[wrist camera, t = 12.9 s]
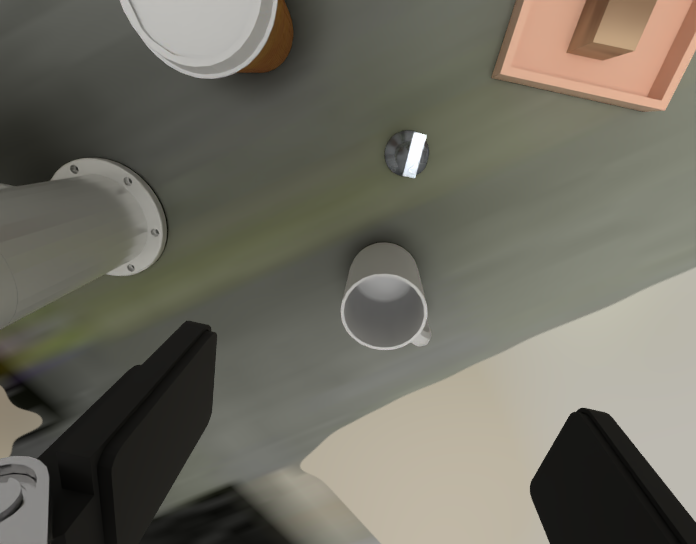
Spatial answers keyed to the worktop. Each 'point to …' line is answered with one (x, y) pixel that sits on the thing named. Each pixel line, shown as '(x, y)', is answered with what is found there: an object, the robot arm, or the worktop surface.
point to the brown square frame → (610, 27)
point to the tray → (592, 74)
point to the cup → (385, 299)
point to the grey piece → (407, 153)
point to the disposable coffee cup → (214, 34)
